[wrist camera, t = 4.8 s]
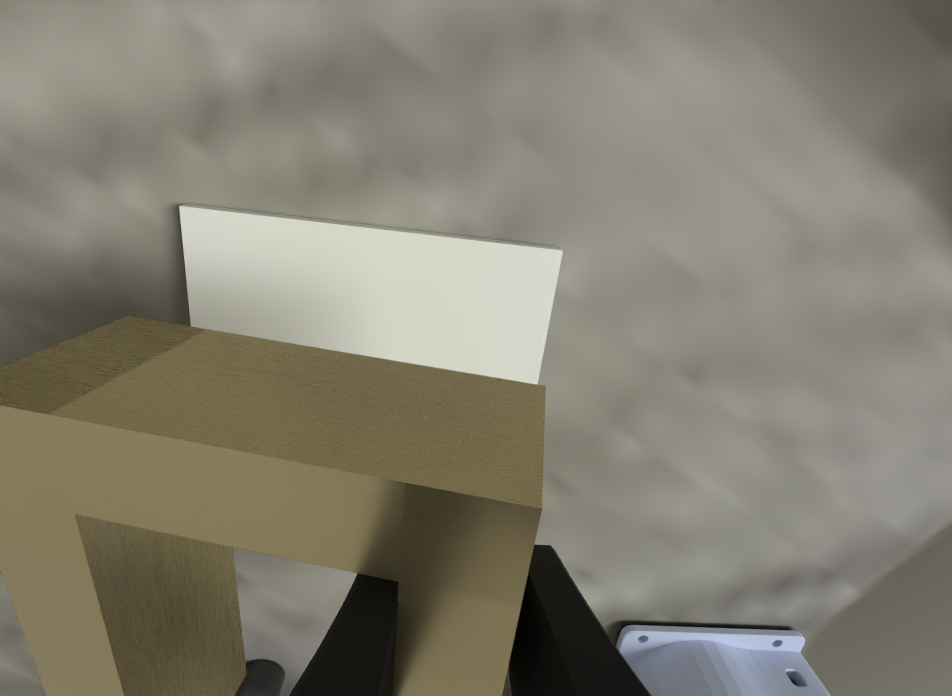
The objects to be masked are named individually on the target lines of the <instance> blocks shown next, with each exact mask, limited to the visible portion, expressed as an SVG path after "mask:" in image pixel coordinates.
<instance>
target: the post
mask: <svg viewBox="0 0 952 696" xmlns="http://www.w3.org/2000/svg"><path fill="white" fill-rule="evenodd" d="M246 673H247V674H246V676H245V678H244V680H243V681H242V683H241V685H240V687H239V688H238V690H237V692H236V693H235V695H234V696H279V694H280V691H281V687H282V684H283V681H284V677H285V672H284V670H283V668H282V667H281V666H280V665H278V664H276V663H274V662H272V661H267V660H257V661H253V662H250V663H248V664H247V665H246Z"/></svg>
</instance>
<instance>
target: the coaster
mask: <svg viewBox="0 0 952 696" xmlns="http://www.w3.org/2000/svg"><path fill="white" fill-rule="evenodd" d="M179 210H180V220H181V230H182V240H183V250H184V261H185V271H186V281H187V291H188V301H189V311H190V322H191V327H197V328H203V329H209V330H215V331H221V332H227V333H233V334H239V335H245V336H251V337H257V338H263V339H269V340H275V341H281V342H287V343H293V344H299V345H305V346H310V347H316V348H322V349H328V350H334V351H340V352H346V353H352V354H358V355H364V356H370V357H376V358H382V359H388V360H394V361H400V362H406V363H412V364H418V365H424V366H429V367H435V368H441V369H447V370H453V371H459V372H465V373H471V374H477V375H483V376H489V377H495V378H501V379H507V380H513V381H519V382H525V383H531V384H537V383H538V378H539V373H540V367H541V362H542V357H543V352H544V347H545V341H546V336H547V331H548V326H549V321H550V315H551V310H552V305H553V300H554V294H555V289H556V284H557V279H558V274H559V268H560V263H561V258H562V253H563V250H562V249H561V248H559V247H554V246H545V245H537V244H528V243H520V242H511V241H502V240H494V239H485V238H477V237H468V236H460V235H451V234H443V233H434V232H426V231H417V230H408V229H400V228H391V227H383V226H374V225H366V224H357V223H349V222H340V221H332V220H323V219H314V218H306V217H297V216H289V215H280V214H272V213H263V212H255V211H246V210H238V209H229V208H220V207H212V206H203V205H195V204H185V205H181V206H179Z"/></svg>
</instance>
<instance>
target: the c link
mask: <svg viewBox="0 0 952 696" xmlns="http://www.w3.org/2000/svg"><path fill="white" fill-rule="evenodd" d="M545 387H546V386H543V385H537V384H531V383H525V382H519V381H513V380H507V379H501V378H495V377H489V376H483V375H477V374H471V373H465V372H459V371H453V370H447V369H441V368H435V367H429V366H424V365H418V364H412V363H406V362H400V361H394V360H388V359H382V358H376V357H370V356H364V355H358V354H352V353H346V352H340V351H334V350H328V349H322V348H316V347H310V346H305V345H299V344H293V343H287V342H281V341H275V340H269V339H263V338H257V337H251V336H245V335H239V334H233V333H227V332H221V331H215V330H209V329H203V328H197V327H191V326H186V325H180V324H174V323H168V322H162V321H156V320H150V319H144V318H138V317H132V316H126V317H124V318H121V319H119V320H116V321H114V322H111V323H109V324H106V325H104V326H101V327H99V328H96V329H94V330H91V331H88V332H86V333H83V334H81V335H78V336H76V337H73V338H71V339H68V340H66V341H63V342H61V343H58V344H56V345H53V346H51V347H48V348H46V349H43V350H41V351H38V352H36V353H33V354H31V355H28V356H26V357H23V358H21V359H18V360H16V361H13V362H11V363H8V364H6V365H3V366H1V367H0V571H1V574H2V577H3V579H4V582H5V585H6V587H7V590H8V593H9V595H10V598H11V601H12V604H13V606H14V609H15V612H16V614H17V617H18V620H19V622H20V625H21V628H22V630H23V633H24V636H25V638H26V641H27V644H28V647H29V649H30V652H31V655H32V657H33V660H34V663H35V665H36V668H37V671H38V673H39V676H40V679H41V681H42V684H43V687H44V690H45V692H46V695H47V696H234V695H235V693H236V692H237V690H238V688H239V687H240V685H241V683H242V681H243V680H244V678H245V676H246V674H247V673H246V664H245V655H244V646H243V637H242V628H241V619H240V610H239V602H238V593H237V584H236V575H235V566H234V557H233V548H232V547H235V548H240V549H245V550H249V551H254V552H259V553H264V554H269V555H273V556H278V557H283V558H288V559H292V560H297V561H302V562H307V563H312V564H316V565H321V566H326V567H331V568H335V569H340V570H345V571H350V572H355V573H359V574H364V575H369V576H374V577H378V578H383V579H388V580H393V581H398V582H399V584H398V598H397V602H399V604H398V618H397V633H396V647H395V661H394V675H393V690H392V696H502V693H503V689H504V684H505V679H506V675H507V670H508V665H509V661H510V656H511V651H512V646H513V642H514V637H515V632H516V628H517V623H518V618H519V614H520V609H521V604H522V600H523V595H524V590H525V586H526V581H527V576H528V571H529V567H530V562H531V557H532V553H533V548H534V543H535V539H536V534H537V529H538V525H539V520H540V515H541V511H542V488H543V454H544V421H545Z"/></svg>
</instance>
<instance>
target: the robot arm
mask: <svg viewBox="0 0 952 696" xmlns="http://www.w3.org/2000/svg"><path fill="white" fill-rule="evenodd" d="M398 584H399V582H398V581H393V580H388V579H383V578H378V577H374V576H369V575H364V574H359V573H358V574H357V576H356V578H355V581H354V583H353V585H352V587H351V589H350V591H349V593H348V595H347V597H346V599H345V601H344V603H343V605H342V607H341V608H340V610H339V612H338V614H337V616H336V618H335V619H334V621H333V623H332V625H331V627H330V629H329V630H328V632H327V634H326V636H325V638H324V639H323V641H322V643H321V645H320V646H319V648H318V650H317V652H316V653H315V655H314V656H313V658H312V660H311V661H310V663H309V665H308V666H307V668H306V669H305V671H304V673H303V674H302V676H301V677H300V679H299V681H298V682H297V684H296V685H295V687H294V689H293V690H292V692H291V694H290V695H289V696H392V690H393V675H394V661H395V647H396V633H397V618H398V604H399V602H397V598H398ZM804 643H805V639H804V637H803V636H802V635H801V633H800V632H798V631H792V630H764V629H735V628H707V627H678V626H650V625H628V626H626V627H624V628H623V629H622V630H621V632H620V635H619V638H618V641H617V644H616V646H615V644H614V643H613V641H612V640H611V638H610V637H609V635H608V634H607V633H606V631H605V630H604V628H603V627H602V625H601V624H600V622H599V621H598V619H597V618H596V616H595V615H594V613H593V612H592V610H591V609H590V607H589V605H588V604H587V602H586V601H585V599H584V598H583V596H582V594H581V593H580V591H579V590H578V588H577V586H576V585H575V583H574V582H573V580H572V578H571V577H570V575H569V573H568V572H567V570H566V568H565V567H564V565H563V563H562V562H561V560H560V558H559V557H558V555H557V553H556V551H555V550H554V549H553V548H552V547H551V545H534V548H533V553H532V557H531V562H530V567H529V571H528V576H527V581H526V586H525V590H524V595H523V600H522V604H521V609H520V614H519V618H518V623H517V628H516V632H515V637H514V642H513V646H512V651H511V656H510V661H509V677H510V684H511V690H512V696H830V694H829V693H828V691H827V690H826V689H825V687H824V686H823V685H822V683H821V681H820V680H819V679H818V677H817V676H816V674H815V673H814V671H813V670H812V669H811V667H810V666H809V664H808V663H807V662H806V660H805V659H804V657H803V656H802V654H801V653H800V651H801V649H802V648H803V646H804Z"/></svg>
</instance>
